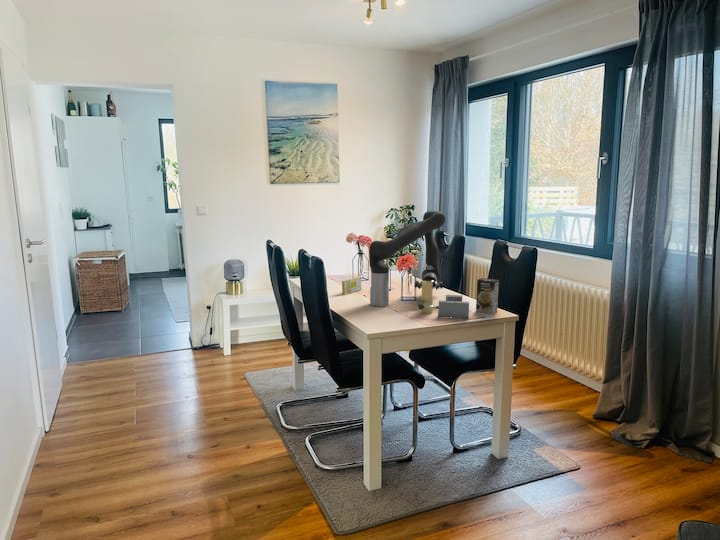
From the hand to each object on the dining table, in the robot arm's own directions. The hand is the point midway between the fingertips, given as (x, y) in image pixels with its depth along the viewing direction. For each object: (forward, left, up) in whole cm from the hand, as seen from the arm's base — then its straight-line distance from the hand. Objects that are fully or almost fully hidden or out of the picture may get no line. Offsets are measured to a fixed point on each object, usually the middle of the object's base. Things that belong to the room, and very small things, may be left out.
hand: (428, 287), depth 270 cm
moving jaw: (+13, -3, -11) cm, 17 cm away
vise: (+8, -9, -11) cm, 16 cm away
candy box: (-45, +32, -11) cm, 56 cm away
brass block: (0, -7, -11) cm, 13 cm away
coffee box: (+29, -1, -11) cm, 31 cm away
